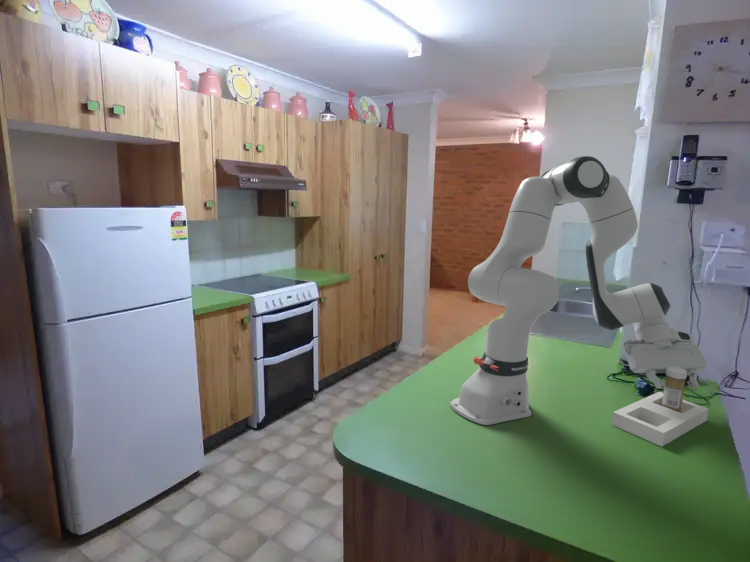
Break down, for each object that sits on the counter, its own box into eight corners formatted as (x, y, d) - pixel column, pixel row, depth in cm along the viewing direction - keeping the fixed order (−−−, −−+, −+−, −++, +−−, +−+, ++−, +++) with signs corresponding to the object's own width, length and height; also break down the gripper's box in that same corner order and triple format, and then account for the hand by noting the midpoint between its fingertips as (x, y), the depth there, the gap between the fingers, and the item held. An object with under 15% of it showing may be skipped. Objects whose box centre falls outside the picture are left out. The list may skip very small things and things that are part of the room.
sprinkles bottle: (683, 417, 117) (690, 370, 115) (675, 422, 115) (683, 373, 112) (664, 410, 121) (671, 364, 118) (656, 414, 118) (663, 367, 116)
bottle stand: (661, 446, 103) (663, 433, 102) (611, 424, 113) (613, 411, 112) (706, 420, 116) (708, 408, 115) (657, 402, 125) (659, 391, 125)
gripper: (627, 335, 120) (647, 383, 112) (697, 334, 121) (721, 382, 114) (615, 345, 125) (633, 392, 117) (682, 344, 127) (705, 390, 119)
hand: (677, 387), depth 115 cm, fingers open, 8 cm apart
